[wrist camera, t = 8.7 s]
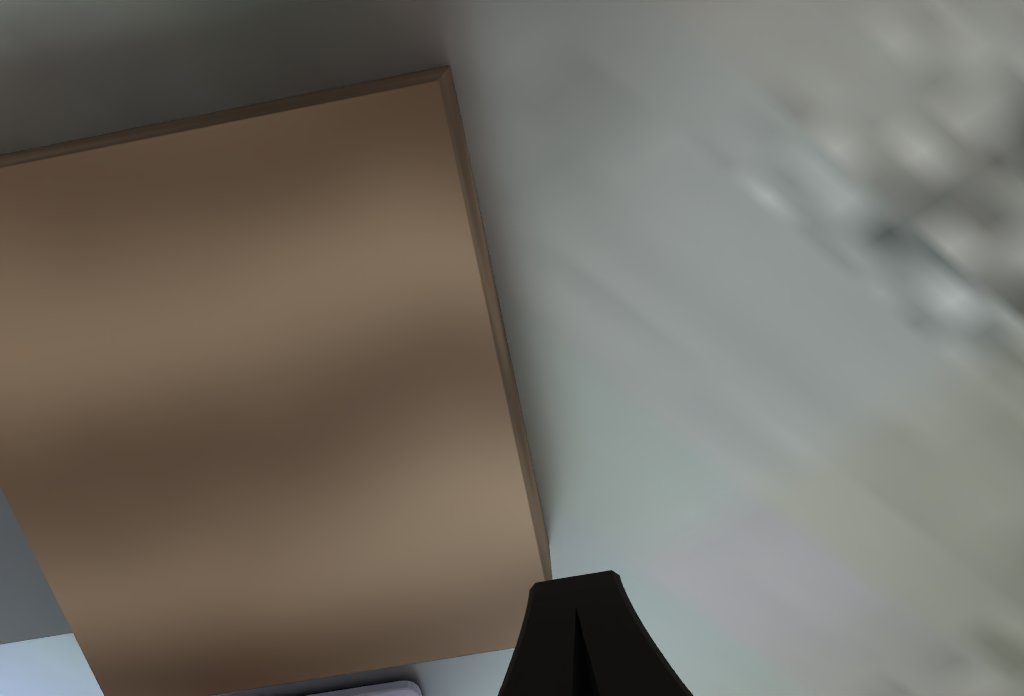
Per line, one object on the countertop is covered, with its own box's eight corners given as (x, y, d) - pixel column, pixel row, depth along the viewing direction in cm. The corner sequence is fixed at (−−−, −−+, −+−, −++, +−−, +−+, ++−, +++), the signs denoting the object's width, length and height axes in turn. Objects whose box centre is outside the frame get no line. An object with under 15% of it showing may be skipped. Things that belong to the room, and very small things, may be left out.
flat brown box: (549, 546, 25) (557, 640, 21) (167, 609, 26) (111, 710, 22) (449, 65, 20) (438, 80, 16) (-29, 161, 20) (-145, 196, 17)
